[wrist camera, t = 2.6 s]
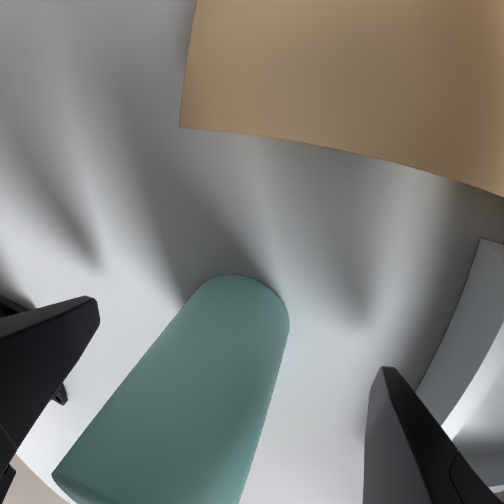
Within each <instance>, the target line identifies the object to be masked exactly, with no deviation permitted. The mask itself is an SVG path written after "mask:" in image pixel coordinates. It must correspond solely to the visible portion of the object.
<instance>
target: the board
mask: <svg viewBox="0 0 504 504" xmlns="http://www.w3.org/2000/svg"><path fill="white" fill-rule="evenodd" d="M179 127H181V128H194V129H205V130H215V131H224V132H233V133H241V134H249V135H256V136H263V137H270V138H277V139H283V140H289V141H295V142H301V143H307V144H312V145H318V146H323V147H328V148H333V149H338V150H342V151H347V152H352V153H356V154H361V155H365V156H369V157H374V158H378V159H382V160H386V161H390V162H394V163H397V164H401V165H405V166H409V167H412V168H416V169H419V170H423V171H426V172H430V173H433V174H437V175H440V176H443V177H446V178H449V179H453V180H456V181H459V182H462V183H465V184H468V185H471V186H474V187H477V188H479V189H482V190H485V191H488V192H491V193H493V194H496V195H499V196H501V197H504V0H197V2H196V7H195V13H194V18H193V24H192V30H191V36H190V43H189V49H188V56H187V63H186V71H185V78H184V86H183V95H182V103H181V112H180V122H179Z"/></svg>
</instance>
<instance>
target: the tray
mask: <svg viewBox="0 0 504 504" xmlns="http://www.w3.org/2000/svg"><path fill="white" fill-rule="evenodd" d="M415 393H416V394H417V396H418V397H419V398H420V400H421V401H422V402H423V404H424V405H425V406H426V407H427V409H428V410H429V411H430V413H431V414H432V415H433V417H434V418H435V419H436V420H437V422H438V423H439V424H440V426H441V427H442V428H443V430H444V431H445V432H446V434H447V435H448V436H449V438H450V439H451V440H452V442H453V443H454V444H455V446H456V447H457V449H458V450H457V451H460V452H461V454H462V455H463V457H464V458H465V459H466V461H467V462H468V463H469V464H470V466H471V467H472V468H473V470H474V471H475V472H476V473H477V475H478V476H479V477H480V478H481V479H482V480H483V482H484V483H485V484H486V485H487V486H488V487H489V488H490V490H491V491H492V492H493V493H497V492H502V491H504V244H500V243H497V242H493V241H489V240H485V239H481V238H480V242H479V245H478V248H477V251H476V255H475V258H474V261H473V264H472V267H471V270H470V273H469V276H468V278H467V281H466V284H465V287H464V289H463V292H462V295H461V297H460V300H459V302H458V305H457V307H456V310H455V312H454V314H453V317H452V319H451V321H450V324H449V326H448V328H447V331H446V333H445V335H444V337H443V339H442V341H441V344H440V346H439V348H438V350H437V352H436V354H435V356H434V358H433V360H432V362H431V364H430V366H429V368H428V370H427V372H426V374H425V375H424V377H423V379H422V381H421V383H420V385H419V386H418V388H417V390H416V392H415Z"/></svg>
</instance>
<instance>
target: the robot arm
mask: <svg viewBox="0 0 504 504" xmlns="http://www.w3.org/2000/svg"><path fill="white" fill-rule="evenodd" d="M99 325H100V316H99V310H98V304H97V301H96V299H94V298H92V297H89V296H81V297H78V298H74V299H70V300H67V301H63V302H59V303H56V304H52V305H48V306H45V307H41V308H37V309H34V310H30V311H28V310H26V309H24V308H22V307H20V306H18V305H17V304H15V303H13V302H11V301H9V300H7V299H5V298H3V297H1V296H0V504H2V502H3V500H4V498H5V496H6V493H7V491H8V489H9V487H10V485H11V482H12V480H13V478H14V476H15V474H16V470H15V469H14V468H13V467H12V466H11V465H10V464H9V463H10V461H11V459H12V458H13V456H14V455H15V453H16V451H17V449H18V448H19V446H20V445H21V443H22V442H23V440H24V439H25V437H26V435H27V434H28V432H29V431H30V429H31V428H32V426H33V425H34V423H35V422H36V420H37V419H38V417H39V416H40V414H41V413H42V411H43V410H44V408H45V407H46V405H47V404H48V403H49V402H50V401H51V399H52V400H54V401H56V402H57V403H59V404H61V405H65V403H66V402H67V401H68V398H67V396H66V393H65V391H64V388H63V386H62V383H63V381H64V380H65V378H66V377H67V376H68V374H69V373H70V371H71V370H72V369H73V367H74V366H75V365H76V363H77V362H78V360H79V359H80V357H81V355H82V354H83V352H84V350H85V349H86V347H87V345H88V344H89V342H90V340H91V339H92V337H93V335H94V334H95V332H96V330H97V329H98V327H99ZM457 450H458V449H457V447H456V446H455V444H454V443H453V442H452V440H451V439H450V438H449V436H448V435H447V434H446V432H445V431H444V430H443V428H442V427H441V426H440V424H439V423H438V422H437V420H436V419H435V418H434V417H433V415H432V414H431V413H430V411H429V410H428V409H427V407H426V406H425V405H424V404H423V402H422V401H421V400H420V398H419V397H418V396H417V394H416V393H415V392H414V391H413V389H412V388H411V387H410V386H409V384H408V383H407V382H406V380H405V379H404V378H403V377H402V375H401V374H400V373H399V372H398V370H397V369H396V368H394V367H388V366H382V367H381V368H380V369H379V371H378V373H377V375H376V378H375V380H374V382H373V384H372V386H371V390H370V395H369V406H368V416H367V425H366V433H365V453H364V488H363V504H503V503H502V502H501V501H500V500H499V499H498V497H497V496H496V495H495V494H494V493H493V492H492V491H491V490H490V488H489V487H488V486H487V485H486V484H485V483H484V482H483V480H482V479H481V478H480V477H479V476H478V475H477V473H476V472H475V471H474V470H473V468H472V467H471V466H470V464H469V463H468V462H467V461H466V459H465V458H464V457H463V455H462V454H461V452H460V451H457Z"/></svg>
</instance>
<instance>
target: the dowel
mask: <svg viewBox="0 0 504 504" xmlns="http://www.w3.org/2000/svg"><path fill="white" fill-rule="evenodd" d="M289 326H290V325H289V317H288V313H287V310H286V308H285V306H284V304H283V302H282V301H281V299H280V298H279V297H278V296H277V295H276V293H275V292H274V291H272V290H271V289H270V288H269V287H267V286H266V285H264V284H263V283H261V282H259V281H257V280H255V279H253V278H250V277H246V276H242V275H235V274H227V275H220V276H216V277H213V278H211V279H209V280H207V281H206V282H204V283H203V284H202V285H201V286H200V287H199V288H198V289H197V290H196V291H195V293H194V294H193V295H192V296H191V298H190V299H189V300H188V301H187V302H186V304H185V305H184V306H183V307H182V309H181V310H180V311H179V312H178V314H177V315H176V316H175V317H174V318H173V320H172V321H171V322H170V323H169V325H168V326H167V327H166V328H165V330H164V331H163V332H162V333H161V335H160V336H159V337H158V338H157V340H156V341H155V342H154V343H153V345H152V346H151V347H150V348H149V349H148V351H147V352H146V353H145V354H144V356H143V357H142V358H141V359H140V361H139V362H138V363H137V365H136V366H135V367H134V368H133V370H132V371H131V372H130V373H129V375H128V376H127V377H126V378H125V380H124V381H123V382H122V383H121V385H120V386H119V387H118V388H117V390H116V391H115V392H114V394H113V395H112V396H111V397H110V399H109V400H108V401H107V402H106V404H105V405H104V406H103V408H102V409H101V410H100V411H99V413H98V414H97V415H96V417H95V418H94V419H93V420H92V422H91V423H90V424H89V426H88V427H87V428H86V429H85V431H84V432H83V433H82V435H81V436H80V437H79V438H78V440H77V441H76V442H75V444H74V445H73V446H72V448H71V449H70V450H69V452H68V453H67V454H66V455H65V457H64V458H63V459H62V461H61V462H60V463H59V465H58V466H57V467H56V469H55V470H54V471H53V473H52V478H53V480H54V481H55V482H56V484H57V485H58V486H59V487H60V488H61V489H62V490H63V491H64V492H65V493H66V494H67V495H68V496H69V497H70V498H71V499H72V500H74V501H75V502H76V503H77V504H239V501H240V498H241V495H242V492H243V489H244V486H245V483H246V480H247V476H248V473H249V470H250V467H251V464H252V461H253V458H254V454H255V451H256V448H257V445H258V441H259V438H260V435H261V431H262V428H263V425H264V421H265V418H266V414H267V411H268V407H269V404H270V400H271V397H272V393H273V390H274V386H275V382H276V379H277V375H278V371H279V368H280V364H281V360H282V356H283V353H284V349H285V345H286V341H287V337H288V333H289Z"/></svg>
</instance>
